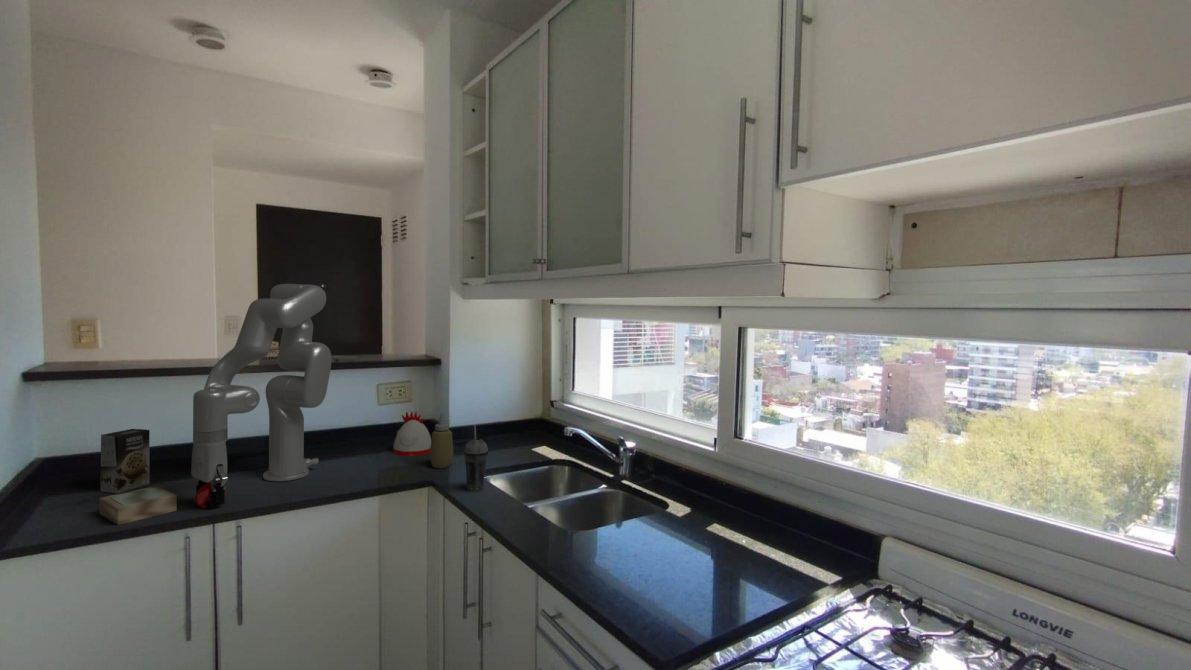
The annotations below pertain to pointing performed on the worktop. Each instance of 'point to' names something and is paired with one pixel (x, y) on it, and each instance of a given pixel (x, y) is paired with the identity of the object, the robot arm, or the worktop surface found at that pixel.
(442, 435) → the squeeze bottle
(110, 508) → the pedestal
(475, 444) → the beverage cup
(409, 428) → the kitchen timer
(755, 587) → the worktop surface
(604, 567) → the worktop surface
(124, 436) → the coffee box
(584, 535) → the worktop surface
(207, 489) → the red bell pepper
